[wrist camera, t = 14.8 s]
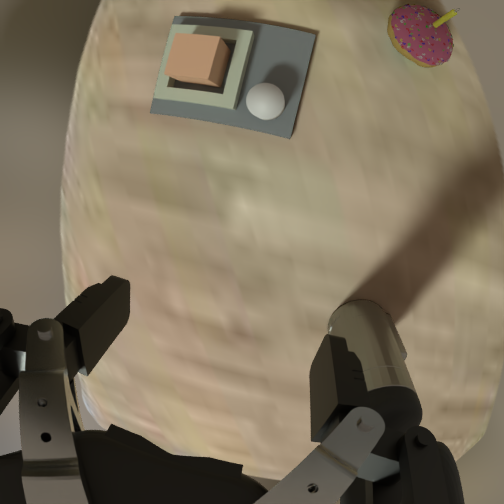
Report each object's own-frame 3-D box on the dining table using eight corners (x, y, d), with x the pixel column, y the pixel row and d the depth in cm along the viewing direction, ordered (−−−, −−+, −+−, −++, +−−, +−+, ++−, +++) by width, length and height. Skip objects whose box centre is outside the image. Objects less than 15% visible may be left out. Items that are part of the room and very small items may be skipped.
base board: (314, 37, 29) (318, 23, 24) (289, 138, 34) (290, 139, 30) (177, 18, 29) (163, 5, 25) (153, 113, 35) (135, 111, 30)
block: (230, 51, 30) (220, 36, 24) (220, 87, 32) (208, 79, 26) (192, 46, 30) (175, 32, 24) (182, 82, 32) (163, 74, 26)
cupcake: (402, 6, 25) (437, -29, 14) (446, 51, 26) (494, 32, 15) (366, 38, 28) (395, 4, 17) (414, 85, 29) (460, 70, 18)
